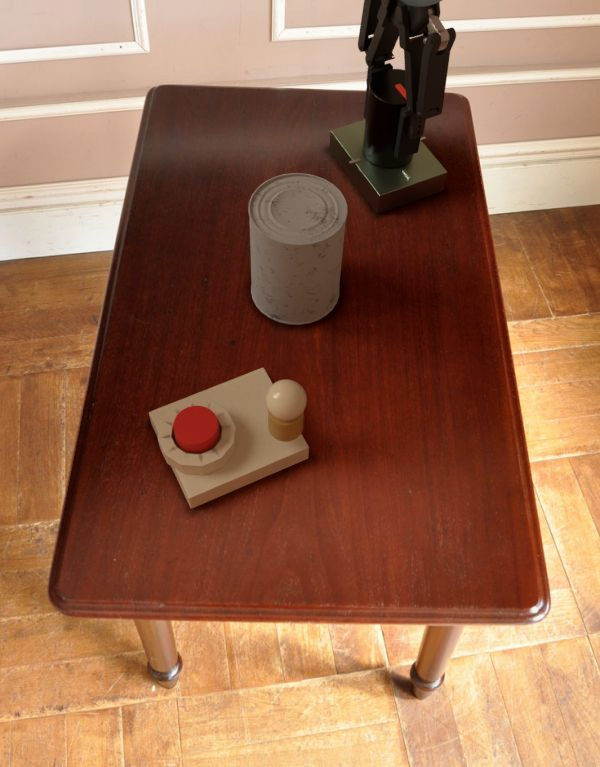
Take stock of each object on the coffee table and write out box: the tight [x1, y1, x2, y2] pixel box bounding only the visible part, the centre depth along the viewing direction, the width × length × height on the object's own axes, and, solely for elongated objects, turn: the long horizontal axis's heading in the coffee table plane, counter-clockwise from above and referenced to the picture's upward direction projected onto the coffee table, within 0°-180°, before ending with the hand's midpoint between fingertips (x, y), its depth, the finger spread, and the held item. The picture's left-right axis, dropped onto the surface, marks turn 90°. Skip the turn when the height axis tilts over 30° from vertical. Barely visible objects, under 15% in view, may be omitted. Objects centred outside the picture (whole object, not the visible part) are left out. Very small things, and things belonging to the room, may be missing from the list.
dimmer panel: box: [328, 118, 448, 215], centre depth 102 cm, size 12×10×3 cm
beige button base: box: [148, 367, 310, 509], centre depth 80 cm, size 10×12×4 cm
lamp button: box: [173, 406, 219, 453], centre depth 78 cm, size 4×4×2 cm
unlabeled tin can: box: [247, 172, 348, 326], centre depth 87 cm, size 10×10×12 cm
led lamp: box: [265, 378, 308, 442], centre depth 76 cm, size 4×4×6 cm
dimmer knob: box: [363, 68, 413, 168], centre depth 97 cm, size 6×6×9 cm
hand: (390, 134), depth 98 cm, fingers open, 6 cm apart
